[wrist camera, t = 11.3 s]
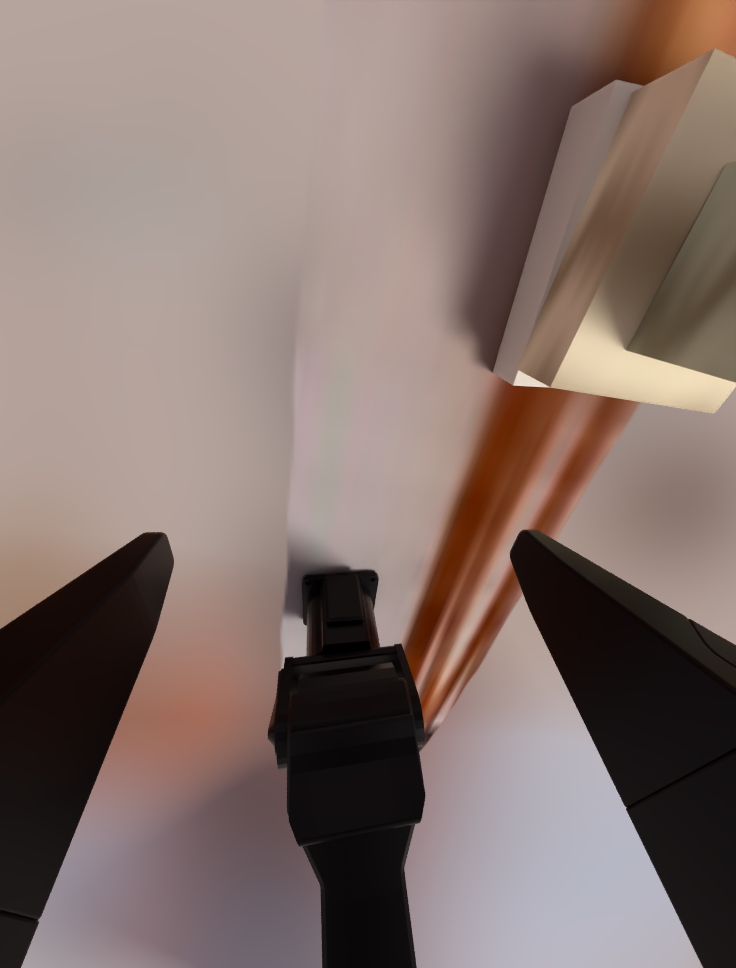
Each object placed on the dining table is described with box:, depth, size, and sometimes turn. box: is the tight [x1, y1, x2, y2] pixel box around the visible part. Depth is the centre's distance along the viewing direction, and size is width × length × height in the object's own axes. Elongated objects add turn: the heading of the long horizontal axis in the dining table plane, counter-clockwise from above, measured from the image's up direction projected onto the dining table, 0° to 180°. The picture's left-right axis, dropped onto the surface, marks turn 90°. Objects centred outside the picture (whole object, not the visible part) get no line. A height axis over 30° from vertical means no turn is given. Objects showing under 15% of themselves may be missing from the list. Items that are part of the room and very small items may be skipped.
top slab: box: [517, 48, 736, 414], centre depth 14 cm, size 10×10×3 cm
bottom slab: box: [493, 80, 643, 387], centre depth 17 cm, size 11×11×3 cm
